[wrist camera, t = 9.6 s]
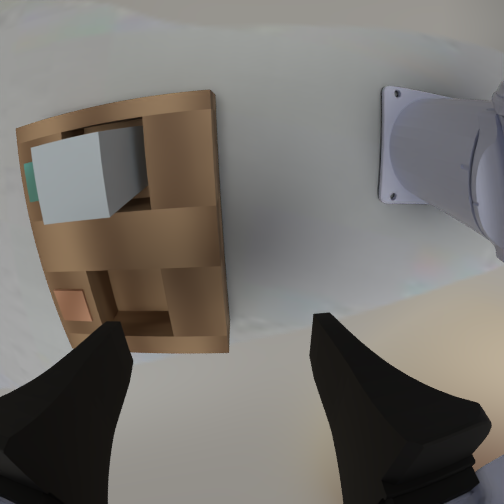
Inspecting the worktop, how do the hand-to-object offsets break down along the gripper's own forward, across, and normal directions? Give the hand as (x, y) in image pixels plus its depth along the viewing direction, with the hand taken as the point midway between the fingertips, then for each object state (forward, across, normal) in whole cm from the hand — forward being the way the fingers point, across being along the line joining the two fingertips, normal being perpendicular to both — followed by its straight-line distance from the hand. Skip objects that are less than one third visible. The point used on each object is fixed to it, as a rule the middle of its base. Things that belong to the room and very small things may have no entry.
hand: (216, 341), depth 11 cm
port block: (+10, +6, -1) cm, 12 cm away
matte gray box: (+10, +6, -6) cm, 13 cm away
